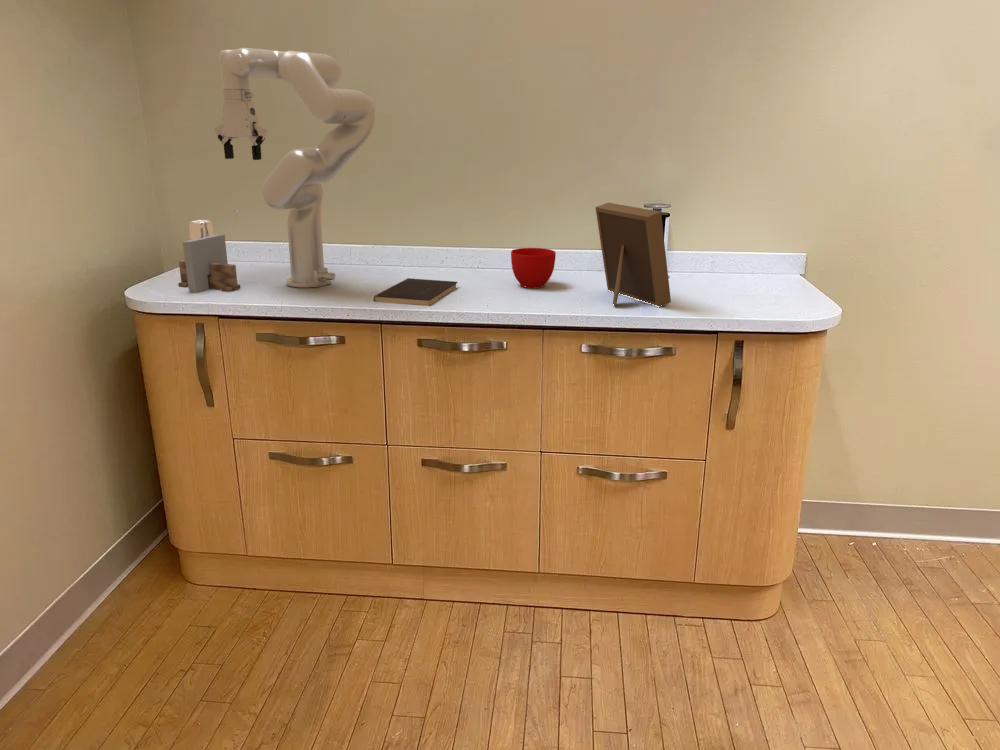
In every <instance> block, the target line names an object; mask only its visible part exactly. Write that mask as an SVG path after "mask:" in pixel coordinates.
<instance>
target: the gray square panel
mask: <svg viewBox="0 0 1000 750" xmlns="http://www.w3.org/2000/svg"><path fill="white" fill-rule="evenodd" d="M182 246H183V254H184V255H183V256H184V260H185V264H186V272H187V280H188V287H187V288H188V292H189V293H193V292H197V293H200V292H204V291H207V290H210V288H209V285H208V276H207V275H209V274H210V275H211V267H210V264H212V263H222V264H229V263H228V254H227V253H228V252H227V245H226V236H225V234H219V233H218V234H214V235H212V236H207V237H202V238H197V239H193V240H191V239H188V240H184V241H182ZM203 290H204V291H203ZM199 291H200V292H199Z"/></svg>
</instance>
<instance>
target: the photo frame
mask: <svg viewBox="0 0 1000 750" xmlns="http://www.w3.org/2000/svg"><path fill="white" fill-rule="evenodd" d="M594 208H595V214H596V219H597V220H596V221H597V227H598V234H599V241H600V246H601V254H602V259H603V268H604V274H605V281H606V287H607V288H606V289H607V291H608V290H610V291H613V292H614V293H613V297H612V298H613V299H612V305H613V304H614V306H616V307H617V305H618V299H619V295H618V294H619V293H620V294H623V295H627V296H630V297H633V298H636V299H639V300H642V301H645V302H648V303H651V304H654V305H657V306H661V305H663V306H665V305H668V304H670V303H671V302H672V298H671V290H670V289H671V288H670V281H669V271H668V264H667V254H666V245H665V236H664V228H663V227H664V226H663V219H662V218H663V217H662V211H659V210H652V209H648V208H642V207H641V208H640V207H635V206H629V205H625V204H624V205H623V204H618V203H611V202H606V203H603V204H601V205H598V206H595V207H594ZM614 306H613V307H614ZM661 307H662V306H661Z"/></svg>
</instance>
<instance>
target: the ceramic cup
mask: <svg viewBox="0 0 1000 750" xmlns="http://www.w3.org/2000/svg"><path fill="white" fill-rule="evenodd" d="M556 254H557V253H556V251H555V250H554V249H548V248H543V247H542V248H541V247H522V248H516V249H512V250H511V252H510V260H511V261H510V263H511V269H512V272H513V276H514V277H515V279H516V280H517V281H518V283H519V284H520V286H521V285H522V286H521V287H523V286H526V287H525V288H527V287H539V288H542V287H541V286H543V287H544V286H546V284H547V282H548V281H549V280H550V279H551V277H552V275H553V272H554V269H555V264H556V257H557V256H556Z"/></svg>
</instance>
